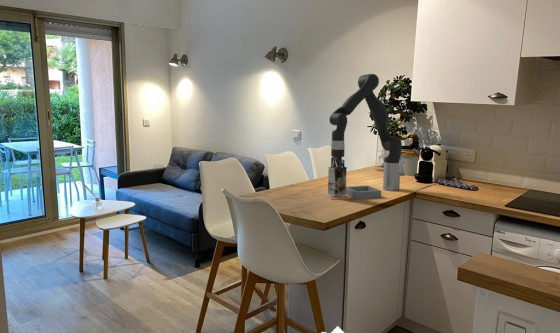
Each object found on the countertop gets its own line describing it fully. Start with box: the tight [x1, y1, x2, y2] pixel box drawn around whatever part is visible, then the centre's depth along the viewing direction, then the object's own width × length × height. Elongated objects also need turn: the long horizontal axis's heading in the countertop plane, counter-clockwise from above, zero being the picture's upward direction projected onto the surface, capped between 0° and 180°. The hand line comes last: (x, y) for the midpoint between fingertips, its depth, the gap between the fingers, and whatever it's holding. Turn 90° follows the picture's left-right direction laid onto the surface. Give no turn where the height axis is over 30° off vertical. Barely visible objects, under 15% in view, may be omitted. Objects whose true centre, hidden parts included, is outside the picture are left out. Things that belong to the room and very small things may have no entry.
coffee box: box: [327, 166, 348, 196], centre depth 240 cm, size 9×6×16 cm
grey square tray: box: [345, 185, 382, 200], centre depth 245 cm, size 16×16×4 cm
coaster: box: [322, 193, 352, 201], centre depth 241 cm, size 12×12×1 cm
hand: (337, 176), depth 239 cm, fingers closed on coffee box, 8 cm apart
